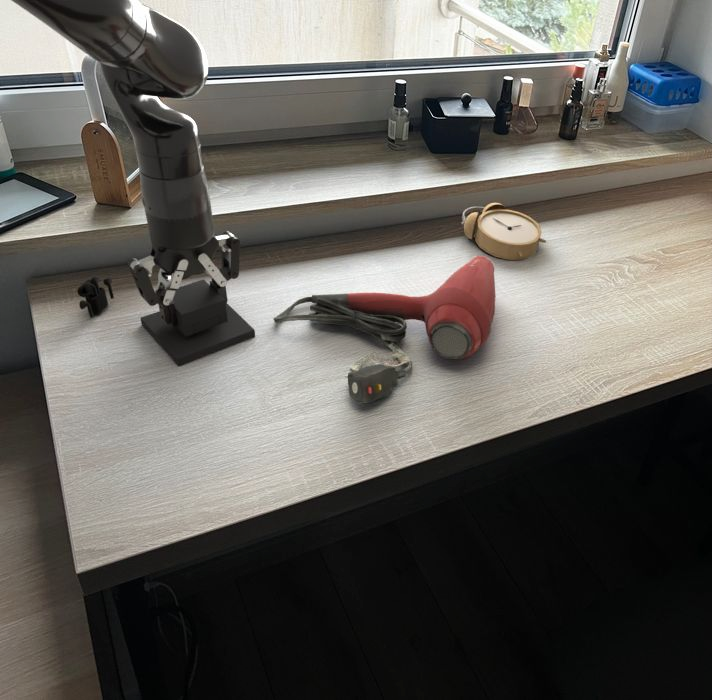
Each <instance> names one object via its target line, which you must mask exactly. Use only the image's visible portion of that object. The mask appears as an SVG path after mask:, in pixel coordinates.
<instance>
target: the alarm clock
mask: <svg viewBox="0 0 712 700" xmlns="http://www.w3.org/2000/svg"><path fill="white" fill-rule="evenodd" d="M479 213H481V214H480V215H479ZM461 219H462V221H461V226H462V227H463V233H464V235H465V237H466V238H468V240H473V238H474V240H475V243H476V245H478V247H479V248H480V249H481V250H483V251H484V252H486V253H487V254H488V255H491V256H494V257H496V258H500V259H503V260H511V261H518V260H519V261H520V260H521V261H522V260H526V259H529V258H531V257H533V256H534V255H535V254H536V253H537V252H538V248H539V243H545V244H546V243H547V240H546V239H545V238H542V233H543V231H542V227H541V226H540V225H539V223H538V222H537V221H536V220H535V219H533V218H532V217H530V216H529V215H526V214H525V213H522V212H520V211H516V210H513V209H512V210H511V209H506V207H505V206H504V205H503V204H501V203H500V202H491V203H489V204H487V205H486V206H485V207H484V206H471V207H470V206H469V207H468V208H466V209H464V210H463V212H462V216H461Z"/></svg>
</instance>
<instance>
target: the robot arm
mask: <svg viewBox="0 0 712 700" xmlns="http://www.w3.org/2000/svg"><path fill="white" fill-rule="evenodd" d="M10 1H11V2H13V3H14V4H16V5H17V6H19V7H20V8H22V9H23V10H24V11H26V12H28V13H29V14H30V15H32V16H33V17H35V18H36V19H37V20H39V21H40V22H42V23H43V24H45V25H46V26H48V27H49V28H50V29H51V30H53V31H54V32H56V33H57V34H59V35H60V36H61V37H62V38H64V39H65V40H67V41H68V42H69V43H70V44H72V45H73V46H75V47H76V48H78V49H79V50H80V51H82V52H83V53H85V54H86V55H88V57H90V58H92V59H93V60H95V61H96V62H98V64H99V68H100V71H101V74H102V77H103V79H104V81H105V84H106V86H107V88H108V90H109V92H110V94H111V96H112V98H113V99H114V101H115V104H116V106H117V107H118V110H119V112H120V113H121V115H122V118H123V120H124V122H125V124H126V126H127V128H128V130H129V132H130V134H131V137H132V141H133V144H134V150H135V156H136V160H137V165H138V171H139V183H140V184H139V185H140V187H139V188H140V192H141V203H142V206H143V208H144V213H145V216H146V222H147V223H146V224H147V227H148V233H149V238H150V242H151V248H150V249H151V250H150V252H149V255H148V256H146V257H144V258H141V259H137V258H135V257H132V258H130V259H129V260H127V265H128V269H129V271H130V273H131V275H132V279H133V280H134V283H135V285H136V287H137V290H138V293H139V295H140V296H141V298H142V299H143V300H144V301H145V302H146V303H147V305H149V306H150V307H154V306H157V305H158V308H159V311H160V315H161V317H162V319H163V320H164V321H165V322H166V323H167V324H170V325H171V326H172V327H174V326H177V325H178V322H177V317H176V311H175V305H174V303H173V302H172V301H173V298H174V295H175V292H176V290H178V289H179V287H181V283H182V281H183V280H186V279H188V278H190V277H192V276H197V275H201V274H205V273H206V274H207V276H209V277H210V278H211V280H210V281H208V282H209V285H210V286H211V287H212V288H213V289H214V290H215V291H216V292H217V293H218V294H219V295H220V296H222V297H223V298H224V299H225V303H226V304H228V300H229V299H228V293H227V284H228V281H230V280H235V279H237V278H238V277H239V275H240V252H241V251H240V249H241V241H240V239H239V238H238V237H237V236H235V235H234V234H233V233H232V232H230V231H229V230H226V231H224V232H223V233H222V235H217V236H216V235H215V225H214V217H213V210H212V202H211V197H210V196H211V195H210V190H209V183H208V178H207V174H206V172H205V167H204V162H203V153H202V146H201V139H200V133H199V128H198V126H197V123H196V122H195V120H194V119H193V118H191V117H190V116H189V115H187V114H185V113H183V112H181V111H177V110H176V109H172V108H171V107H169V106H167V105H165V104H164V103H163V102H162V100H160V99H159V98H162V99H163V98H164V99H169V100H170V99H171V100H189V99H191V98H194V97H195V96H197V95H198V94H200V92H201V91H202V90H203V88H204V87H205V85H206V83H207V80H208V77H209V75H208V74H209V63H208V59H207V55H206V52H205V50H204V48H203V46H202V44H201V43H200V41H199V39H198V38H197V37H196V36H195V35H194V34H193V32H192V31H190V30H189V29H188V28H186V27H185V26H184V25H183V24H181V23H179V22H178V21H176V20H174V19H173V18H170V17H169V16H167V15H165V14H163V13H162V12H160V11H158V10H156V9H153V8H152V7H150V6H147V5H145V4H144V3H141V1H139V0H10ZM218 249H220V250H221V268H220V269H218V267H217V266H216V264H215V263H214V261H213V258H214V257H215V255H216V253H217V251H218ZM154 266H157V267H158V268H160V269H159V270H158V274H157V279H158V281H157V284H156V288H155V289H154V286H153V284H152V280H151V279H150V277H152V276H153V268H154Z"/></svg>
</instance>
